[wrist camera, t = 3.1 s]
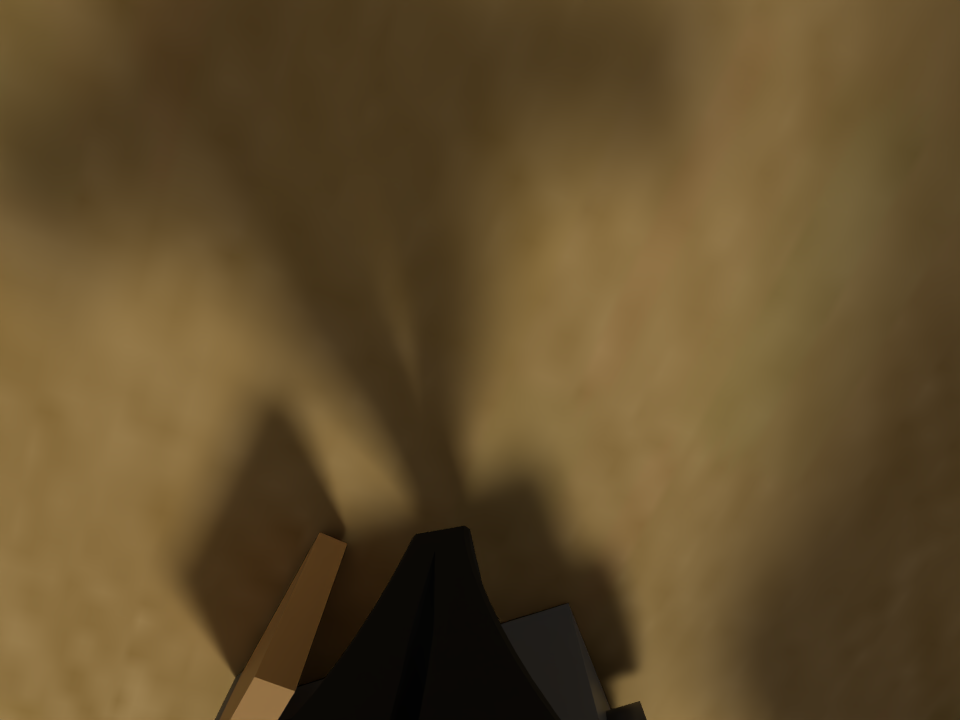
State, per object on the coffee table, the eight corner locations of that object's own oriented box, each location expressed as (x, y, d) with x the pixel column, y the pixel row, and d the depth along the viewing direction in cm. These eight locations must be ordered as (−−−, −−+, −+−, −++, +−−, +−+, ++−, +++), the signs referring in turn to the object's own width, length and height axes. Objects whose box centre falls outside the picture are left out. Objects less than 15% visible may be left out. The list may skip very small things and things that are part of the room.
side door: (317, 528, 12) (246, 680, 8) (351, 542, 13) (298, 698, 9) (229, 688, 14) (136, 878, 10) (260, 699, 14) (180, 889, 10)
